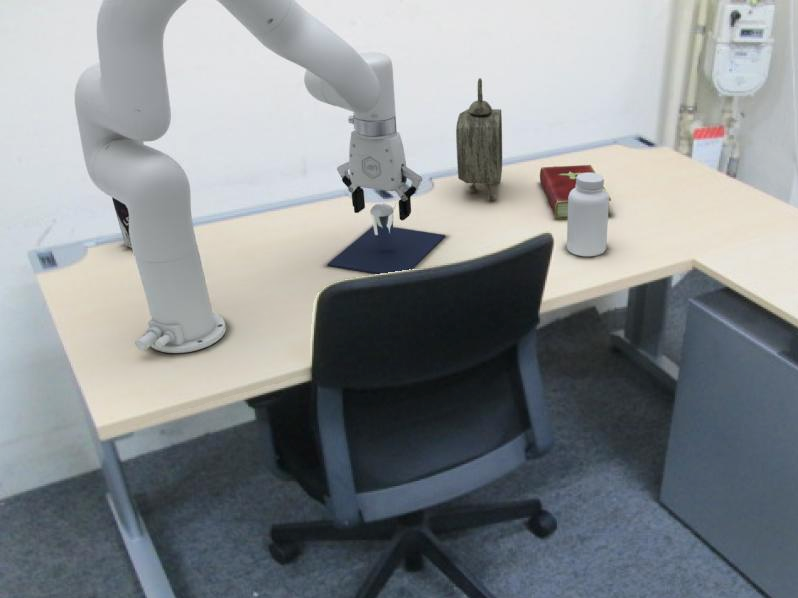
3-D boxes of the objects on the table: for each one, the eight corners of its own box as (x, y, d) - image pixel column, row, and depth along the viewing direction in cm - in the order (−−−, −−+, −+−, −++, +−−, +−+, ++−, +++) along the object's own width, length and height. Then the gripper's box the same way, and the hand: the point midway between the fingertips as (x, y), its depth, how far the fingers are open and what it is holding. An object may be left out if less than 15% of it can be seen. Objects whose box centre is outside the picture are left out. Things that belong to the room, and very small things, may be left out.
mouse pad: (402, 278, 169) (402, 276, 169) (327, 265, 173) (327, 263, 173) (445, 236, 185) (445, 234, 185) (375, 226, 189) (375, 224, 189)
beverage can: (125, 252, 178) (109, 194, 171) (125, 240, 182) (109, 183, 175) (156, 248, 179) (141, 190, 172) (155, 236, 184) (140, 180, 177)
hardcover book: (555, 219, 193) (555, 200, 190) (539, 183, 210) (539, 166, 207) (609, 216, 194) (611, 197, 192) (590, 181, 211) (590, 163, 209)
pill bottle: (614, 248, 181) (618, 176, 172) (588, 261, 176) (591, 187, 167) (584, 237, 185) (587, 166, 177) (558, 249, 180) (560, 177, 172)
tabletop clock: (499, 204, 199) (497, 89, 185) (458, 204, 199) (453, 88, 185) (502, 181, 211) (500, 70, 197) (464, 180, 211) (459, 70, 197)
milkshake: (396, 255, 177) (392, 206, 171) (370, 252, 177) (365, 204, 172) (404, 245, 180) (400, 198, 175) (378, 243, 181) (374, 195, 175)
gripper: (323, 125, 164) (332, 214, 173) (409, 137, 160) (414, 227, 169) (343, 114, 170) (351, 201, 179) (427, 125, 166) (431, 214, 175)
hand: (382, 214), depth 174 cm, fingers open, 9 cm apart
